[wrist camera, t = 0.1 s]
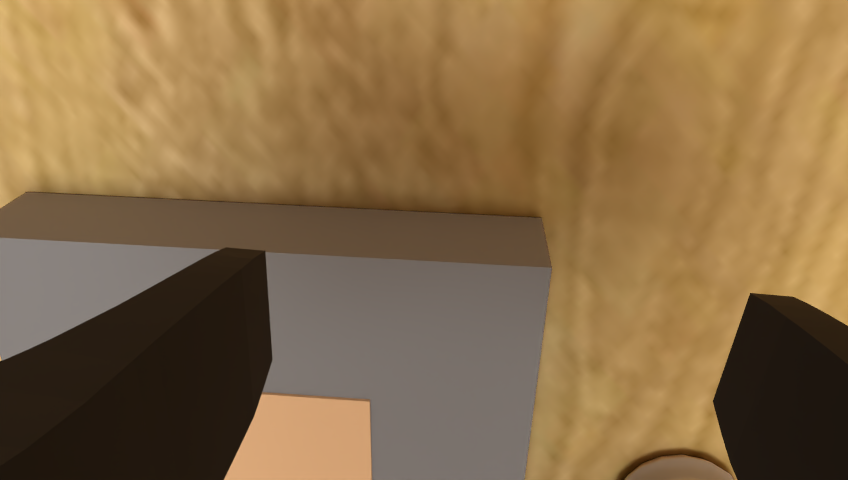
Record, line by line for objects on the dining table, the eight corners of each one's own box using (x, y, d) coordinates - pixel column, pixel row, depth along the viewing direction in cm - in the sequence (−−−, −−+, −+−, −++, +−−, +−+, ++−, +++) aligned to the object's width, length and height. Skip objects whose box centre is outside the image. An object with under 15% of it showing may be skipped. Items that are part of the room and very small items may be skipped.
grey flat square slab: (501, 566, 26) (503, 642, 24) (126, 535, 27) (87, 605, 25) (541, 217, 19) (552, 270, 16) (26, 192, 20) (-46, 237, 17)
